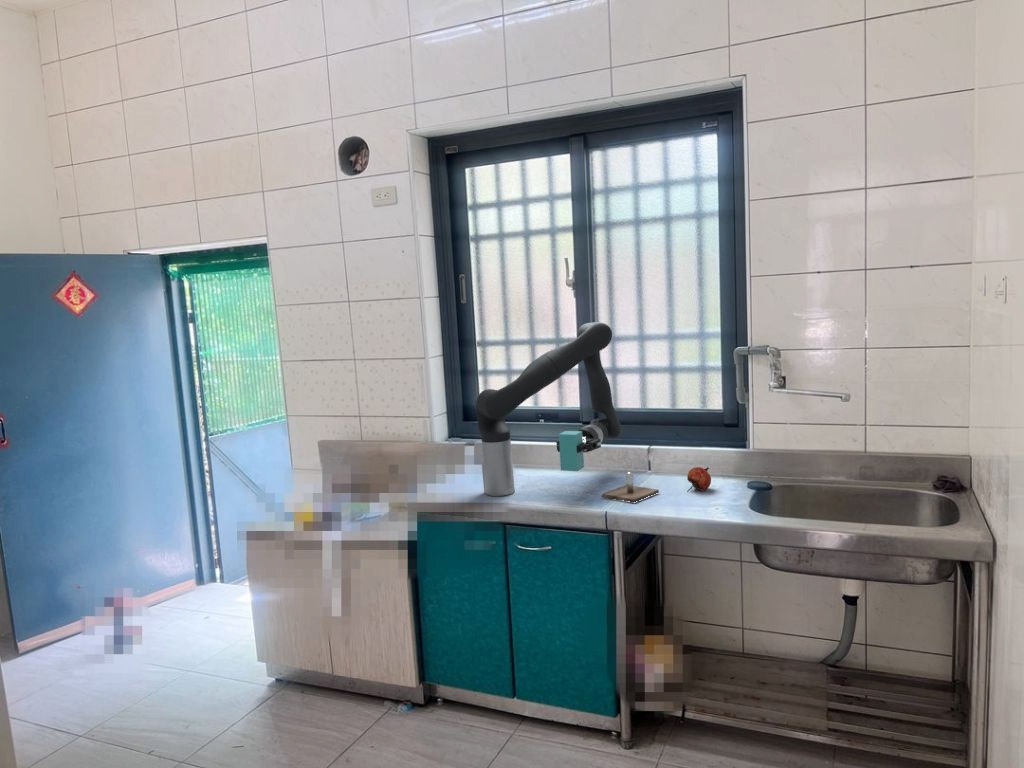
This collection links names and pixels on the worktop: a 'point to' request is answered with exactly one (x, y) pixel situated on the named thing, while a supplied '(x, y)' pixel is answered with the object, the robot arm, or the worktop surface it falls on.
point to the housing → (570, 451)
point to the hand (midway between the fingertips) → (568, 449)
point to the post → (629, 482)
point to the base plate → (632, 497)
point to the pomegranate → (699, 478)
